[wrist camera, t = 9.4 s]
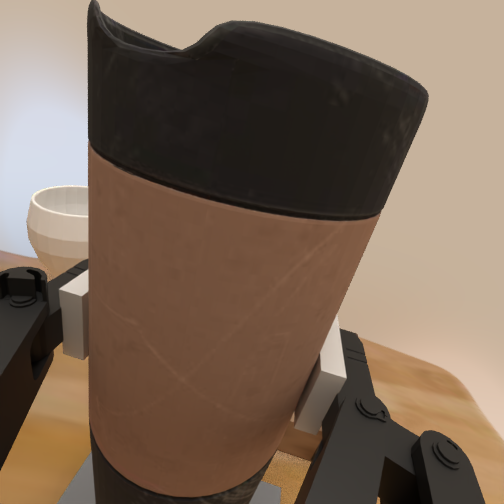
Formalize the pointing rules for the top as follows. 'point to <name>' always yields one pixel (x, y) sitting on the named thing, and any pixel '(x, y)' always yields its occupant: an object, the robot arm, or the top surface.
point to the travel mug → (223, 241)
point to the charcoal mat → (83, 494)
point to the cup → (59, 227)
